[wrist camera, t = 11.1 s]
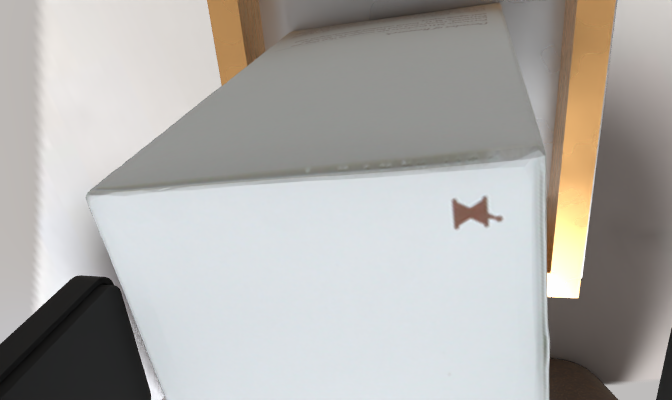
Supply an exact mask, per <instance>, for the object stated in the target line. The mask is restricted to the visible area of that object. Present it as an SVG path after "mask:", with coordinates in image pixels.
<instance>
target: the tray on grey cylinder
mask: <svg viewBox="0 0 672 400" xmlns="http://www.w3.org/2000/svg"><path fill="white" fill-rule="evenodd" d="M207 3H208V8H209V14H210V20H211V26H212V32H213V37H214V43H215V49H216V55H217V61H218V66H219V72H220V78H221V84H222V86H223V85H224V84H225V83H227V82H228V81H229V80H230V79H231V78H233V77H234V76H235V75H236V74H238V73H239V72H240V71H242V70H243V69H244V68H245V67H247V66H248V65H249V64H251V63H252V62H253V61H254V60H255V59H257V58H258V57H259V56H260V55H262V54H263V53H264V52H266V51H267V50H268V49H269V48H270V47H272V46H273V45H275V44H276V43H277V42H278V41H280V40H281V39H282V38H283V37H284V36H286V35H287V34H288V33H290V32H293V31H300V30H306V29H312V28H319V27H326V26H334V25H341V24H348V23H356V22H363V21H371V20H378V19H386V18H393V17H400V16H408V15H414V14H422V13H430V12H437V11H444V10H451V9H457V8H464V7H472V6H479V5H486V4H493V3H499V4H501V6H502V11H503V14H504V17H505V21H506V24H507V28H508V31H509V34H510V37H511V40H512V44H513V47H514V50H515V53H516V57H517V60H518V63H519V67H520V69H521V72H522V76H523V79H524V83H525V86H526V89H527V92H528V95H529V99H530V102H531V105H532V108H533V111H534V115H535V118H536V121H537V125H538V128H539V132H540V135H541V138H542V141H543V145H544V148H545V151H546V216H547V297H564V298H579V290H580V282H581V278H582V275H583V267H584V259H585V251H586V243H587V235H588V227H589V220H590V212H591V204H592V196H593V188H594V180H595V172H596V164H597V156H598V149H599V141H600V133H601V125H602V117H603V109H604V101H605V93H606V85H607V78H608V70H609V62H610V54H611V46H612V38H613V30H614V22H615V14H616V7H617V0H207Z"/></svg>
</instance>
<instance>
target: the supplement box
mask: <svg viewBox="0 0 672 400" xmlns="http://www.w3.org/2000/svg"><path fill="white" fill-rule="evenodd" d="M86 200H87V203H88V206H89V209H90V211H91V213H92V216H93V218H94V220H95V223H96V225H97V228H98V230H99V233H100V235H101V238H102V240H103V242H104V245H105V247H106V249H107V252H108V254H109V257H110V259H111V262H112V265H113V267H114V270H115V272H116V274H117V277H118V279H119V282H120V284H121V286H122V289H123V291H124V294H125V296H126V299H127V301H128V304H129V307H130V309H131V312H132V314H133V317H134V319H135V322H136V324H137V327H138V330H139V332H140V335H141V337H142V340H143V342H144V345H145V347H146V350H147V353H148V355H149V358H150V360H151V363H152V365H153V368H154V370H155V373H156V375H157V378H158V380H159V383H160V385H161V388H162V390H163V393H164V395H165V398H166V400H549V361H550V335H549V326H548V298H547V216H546V151H545V148H544V145H543V141H542V138H541V135H540V132H539V128H538V125H537V121H536V118H535V115H534V111H533V108H532V105H531V102H530V99H529V95H528V92H527V89H526V86H525V83H524V79H523V76H522V72H521V69H520V67H519V63H518V60H517V57H516V53H515V50H514V47H513V44H512V40H511V37H510V34H509V31H508V28H507V24H506V21H505V17H504V14H503V11H502V6H501V4H499V3H493V4H486V5H479V6H472V7H464V8H457V9H451V10H444V11H437V12H430V13H422V14H414V15H408V16H400V17H393V18H386V19H378V20H371V21H363V22H356V23H348V24H341V25H334V26H326V27H319V28H312V29H306V30H300V31H293V32H290V33H288V34H287V35H286V36H284V37H283V38H282V39H281V40H280V41H278V42H277V43H276V44H275V45H273V46H272V47H270V48H269V49H268V50H267V51H266V52H264V53H263V54H262V55H260V56H259V57H258V58H257V59H255V60H254V61H253V62H252V63H251V64H249V65H248V66H247V67H245V68H244V69H243V70H242V71H240V72H239V73H238V74H236V75H235V76H234V77H233V78H231V79H230V80H229V81H228V82H227V83H225V84H224V85H223V86H221V87H220V88H219V89H217V90H216V91H215V92H213V93H212V94H211V95H209V96H208V97H207V98H206V99H204V100H203V101H202V102H201V103H199V104H198V105H197V106H196V107H194V108H193V109H192V110H190V111H189V112H188V113H187V114H185V115H184V116H183V117H182V118H181V119H179V120H178V121H177V122H176V123H175V124H173V125H172V126H170V127H169V128H168V129H167V130H166V131H165V132H163V133H162V134H161V135H159V136H158V137H157V138H155V139H154V140H153V141H152V142H151V143H149V144H148V145H147V146H145V147H144V148H143V149H141V150H140V151H139V152H138V153H137V154H136V155H134V156H133V157H132V158H130V159H129V160H128V161H126V162H125V163H124V164H123V165H122V166H121V167H119V168H118V169H116V170H115V171H113V172H112V173H111V174H110V175H108V176H107V177H106V178H105V179H103V180H102V181H101V182H100V183H99V184H98V185H96V186H95V187H94V188H92V189H91V190H90V191H89V192H88V193H87V195H86Z"/></svg>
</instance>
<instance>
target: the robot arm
mask: <svg viewBox="0 0 672 400" xmlns="http://www.w3.org/2000/svg"><path fill="white" fill-rule="evenodd" d="M0 400H151V393H150V389H149V386H148V382H147V379H146V375H145V372H144V369H143V365H142V362H141V358H140V355H139V352H138V348H137V345H136V341H135V338H134V335H133V331H132V328H131V324H130V321H129V318H128V314H127V311H126V307H125V304H124V301H123V297H122V294H121V291H120V289H119V288H118V287H117V286H114V284H113V282H112V281H111V280H110V279H109V278H106V277H96V276H75V277H74V278H72V279H71V280H70V281H69V282H68V283H66V284H65V285H64V286H63V287H62V288H61V289H60V290H59V291H58V292H57V293H56V294H55V295H53V296H52V297H51V298H50V299H49V300H48V301H47V302H46V303H45V304H44V305H43V306H41V307H40V308H39V309H38V310H37V311H36V312H35V313H34V314H33V315H32V316H31V317H29V318H28V319H27V320H26V321H25V322H24V323H23V324H22V325H21V326H20V327H19V328H17V330H15V331H14V332H13V333H12V334H11V335H10V336H9V337H8V338H7V339H6V340H4V341H3V342H2V343H1V344H0ZM656 400H672V329H671V333H670V338H669V342H668V347H667V352H666V356H665V361H664V366H663V370H662V375H661V379H660V384H659V389H658V393H657V399H656Z"/></svg>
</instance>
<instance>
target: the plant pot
mask: <svg viewBox="0 0 672 400" xmlns="http://www.w3.org/2000/svg"><path fill="white" fill-rule="evenodd" d="M549 400H618V399H617V398H616V397H615V396H614V395H613V394H612V392H610V390H609V389H608V388H607V387H606V386H605V385H604V384H603V383H602V382H601V381H600V380H599V379H598V378H597V377H596V376H595V375H594V374H593V373H591V372H590V371H589V370H587V369H586V368H584V367H582V366H580V365H578V364H575V363H573V362H569V361H565V360H561V359H553V358H550V361H549Z"/></svg>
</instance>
